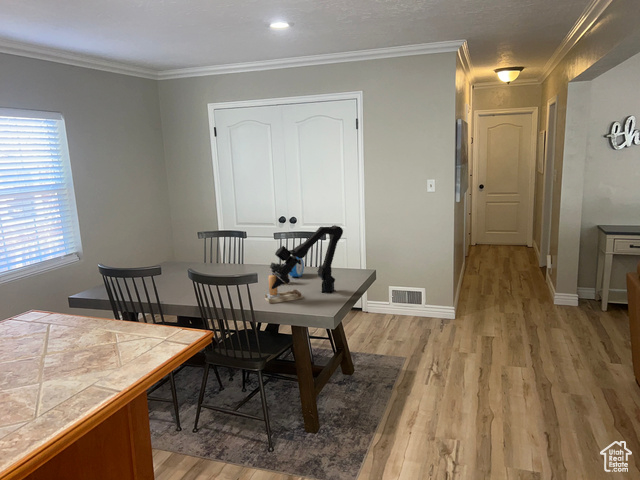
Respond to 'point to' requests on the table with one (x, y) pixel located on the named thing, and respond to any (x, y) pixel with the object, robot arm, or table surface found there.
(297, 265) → the alarm clock
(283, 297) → the track
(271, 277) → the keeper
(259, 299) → the table surface
